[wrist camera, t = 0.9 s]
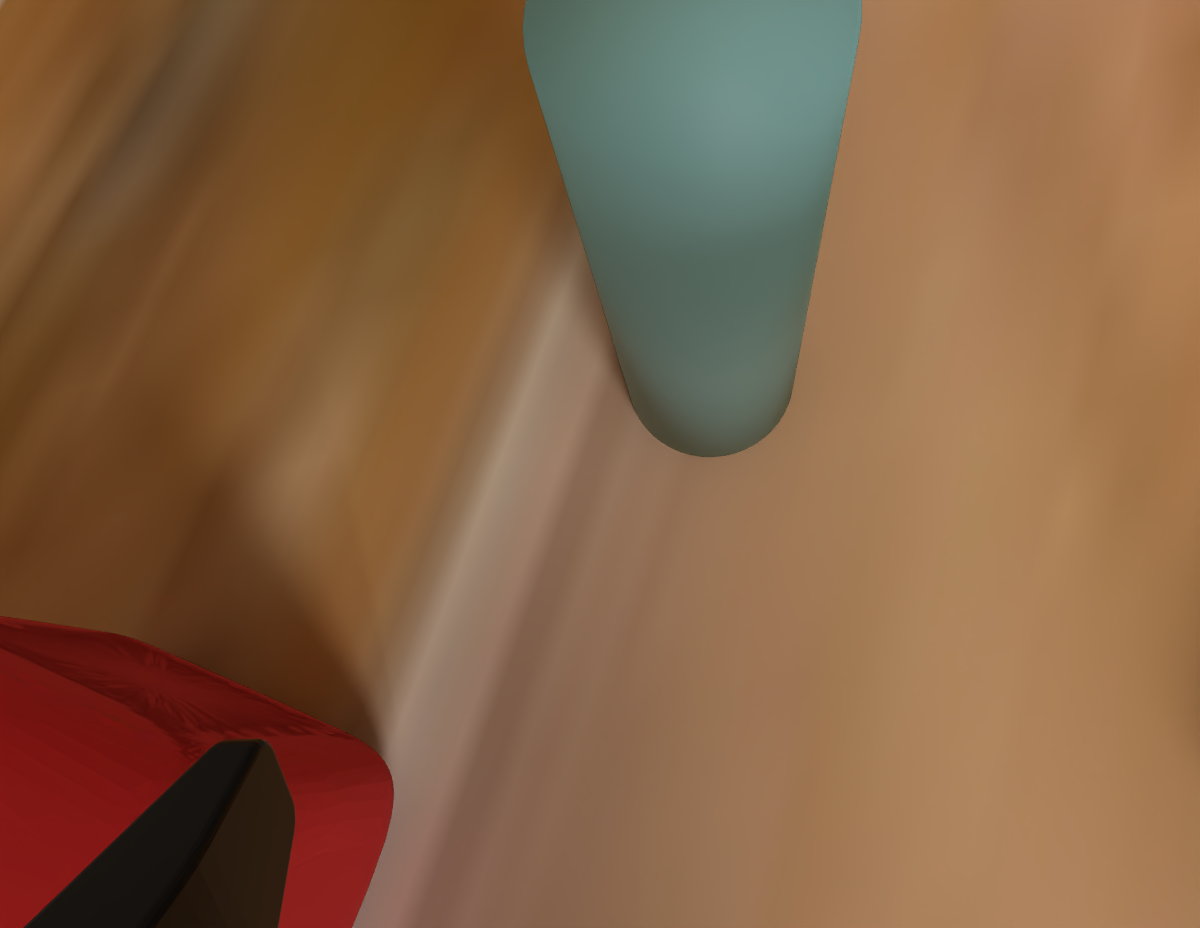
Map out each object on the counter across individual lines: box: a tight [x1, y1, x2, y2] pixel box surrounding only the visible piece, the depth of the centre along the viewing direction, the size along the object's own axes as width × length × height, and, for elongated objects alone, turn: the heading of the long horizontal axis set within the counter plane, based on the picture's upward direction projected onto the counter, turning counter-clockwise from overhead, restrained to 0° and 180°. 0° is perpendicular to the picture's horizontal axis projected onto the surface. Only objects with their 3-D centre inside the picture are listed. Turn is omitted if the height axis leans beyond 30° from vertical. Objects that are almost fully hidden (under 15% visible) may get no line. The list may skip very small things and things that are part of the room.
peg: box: [523, 0, 862, 457], centre depth 18 cm, size 4×4×13 cm
